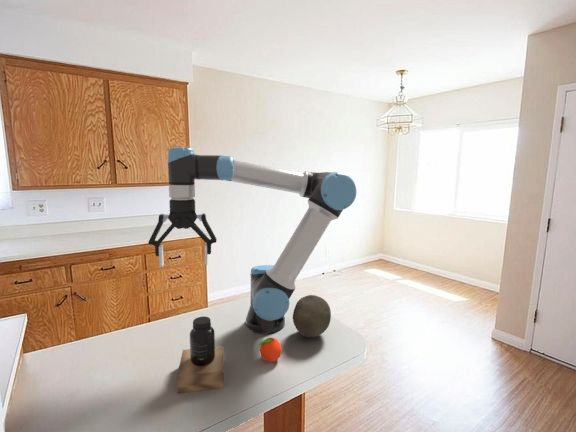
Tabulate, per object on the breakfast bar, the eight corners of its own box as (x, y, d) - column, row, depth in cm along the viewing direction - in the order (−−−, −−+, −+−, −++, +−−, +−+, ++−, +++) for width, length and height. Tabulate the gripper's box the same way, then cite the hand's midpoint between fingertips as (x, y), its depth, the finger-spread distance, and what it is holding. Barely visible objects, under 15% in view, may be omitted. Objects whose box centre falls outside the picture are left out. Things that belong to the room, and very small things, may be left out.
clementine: (259, 369, 91) (260, 347, 90) (253, 356, 97) (253, 335, 96) (284, 363, 94) (285, 342, 93) (277, 351, 100) (277, 331, 99)
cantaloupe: (284, 331, 113) (285, 293, 110) (316, 323, 119) (318, 287, 117) (304, 351, 100) (305, 308, 98) (338, 341, 107) (340, 301, 104)
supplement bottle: (193, 352, 90) (192, 314, 88) (216, 351, 91) (216, 314, 89) (187, 367, 83) (186, 326, 81) (213, 366, 84) (212, 325, 82)
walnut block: (223, 360, 94) (223, 345, 94) (223, 387, 83) (223, 370, 82) (183, 365, 92) (182, 349, 91) (177, 393, 80) (177, 376, 80)
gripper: (223, 197, 100) (224, 259, 103) (142, 197, 94) (145, 263, 98) (223, 199, 92) (224, 266, 95) (135, 199, 87) (139, 270, 90)
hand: (184, 265), depth 96 cm, fingers open, 13 cm apart
